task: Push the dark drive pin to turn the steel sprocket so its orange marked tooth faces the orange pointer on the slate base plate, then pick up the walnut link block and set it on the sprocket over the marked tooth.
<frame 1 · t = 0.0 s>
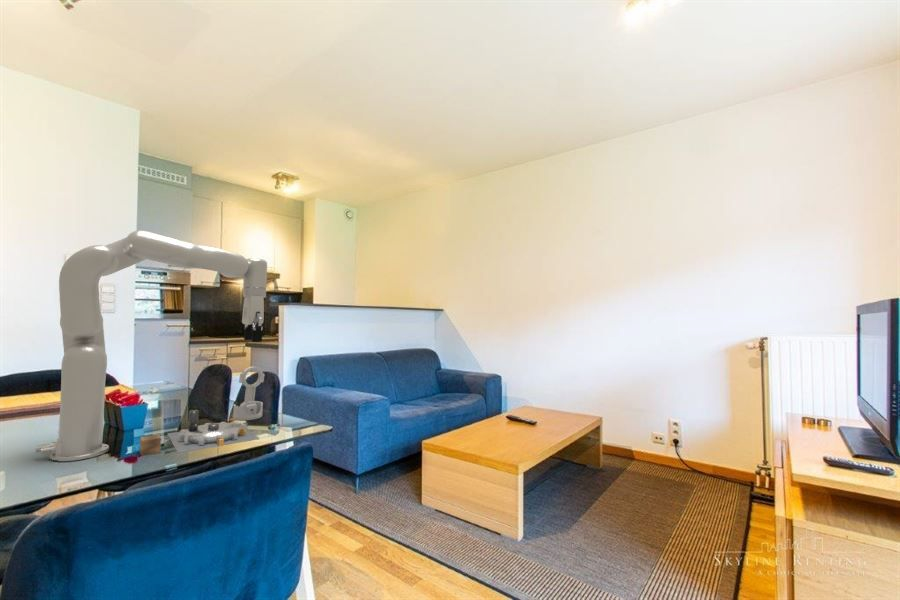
hand: (252, 340, 149), 31 cm above the table, tool pointing down, fingers open, 9 cm apart
sprocket: (213, 423, 134), point 6 cm above the table, hinge at 0.0°
engine component: (248, 421, 159), on the table
link block: (149, 457, 118), on the table
base plate: (212, 440, 134), on the table
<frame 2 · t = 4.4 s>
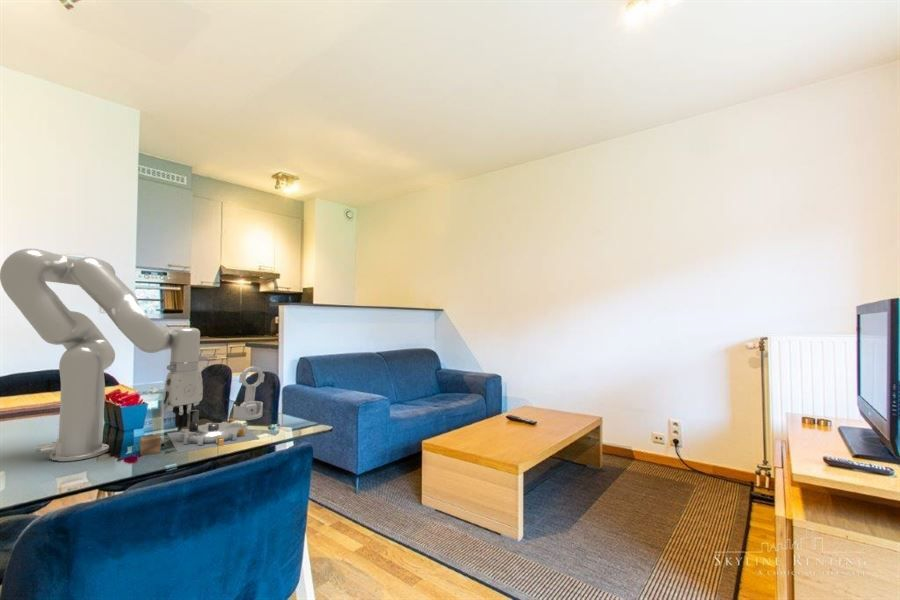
hand: (181, 426, 129), 6 cm above the table, tool pointing down, fingers closed
sprocket: (213, 423, 134), point 6 cm above the table, hinge at 2.2°, touching gripper
everything else where it was.
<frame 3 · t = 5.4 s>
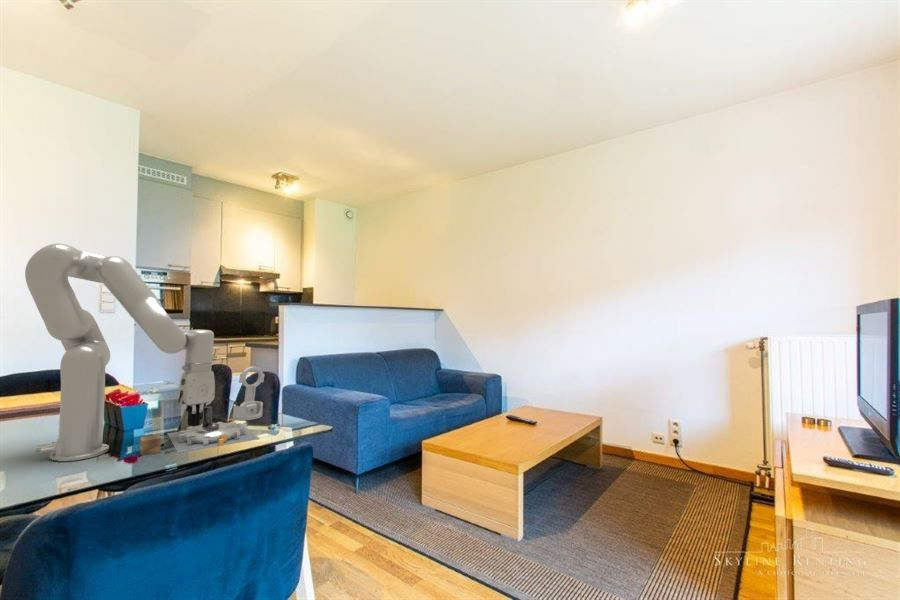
hand: (193, 425, 134), 5 cm above the table, tool pointing down, fingers closed
sprocket: (213, 423, 134), point 6 cm above the table, hinge at 53.0°, touching gripper
everything else where it was.
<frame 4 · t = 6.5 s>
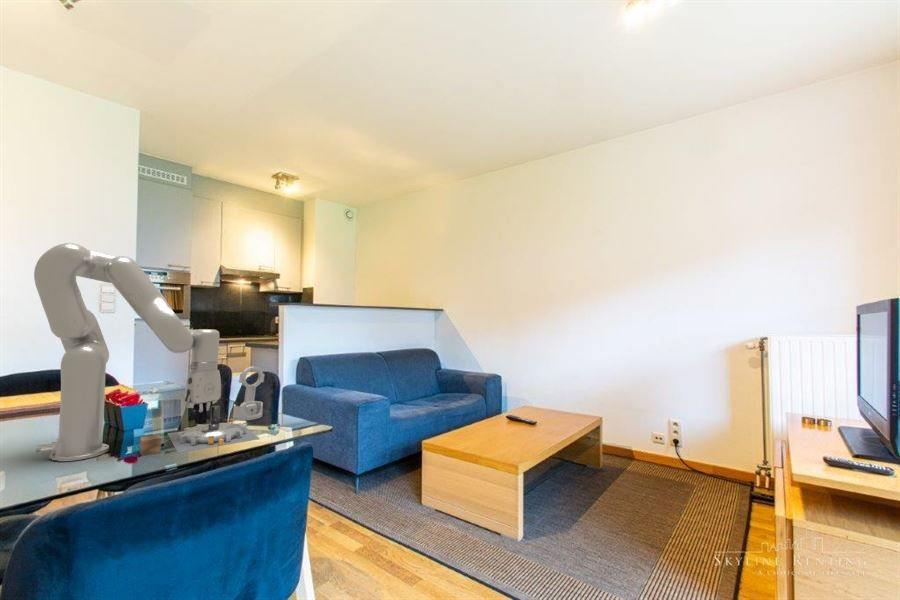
hand: (200, 423, 136), 5 cm above the table, tool pointing down, fingers closed
sprocket: (213, 423, 134), point 6 cm above the table, hinge at 74.9°, touching gripper
everything else where it was.
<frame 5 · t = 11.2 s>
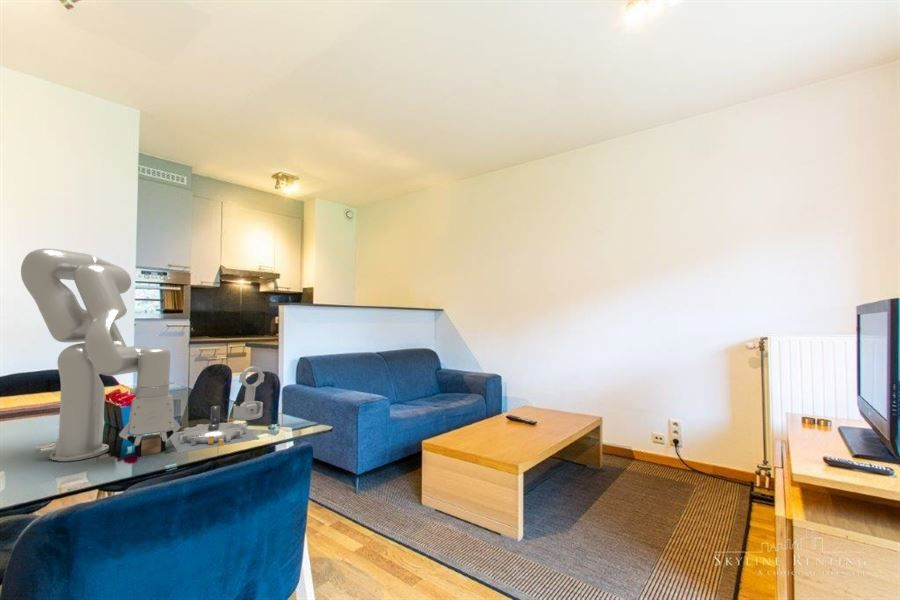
hand: (149, 455, 118), 0 cm above the table, tool pointing down, fingers closed on link block, 4 cm apart
sprocket: (213, 423, 134), point 6 cm above the table, hinge at 75.0°
link block: (149, 457, 118), on the table, touching gripper
everything else where it was.
when the fingers open (6 cm above the table, at t = 16.2 s): link block drops 1 cm, resting on sprocket.
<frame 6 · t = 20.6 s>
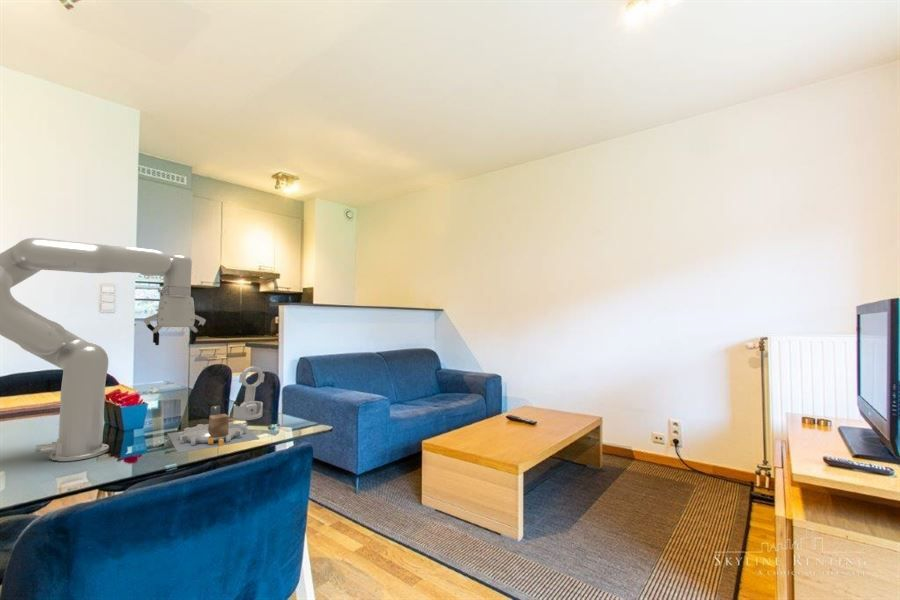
hand: (174, 344, 137), 30 cm above the table, tool pointing down, fingers open, 9 cm apart
sprocket: (213, 423, 134), point 6 cm above the table, hinge at 75.0°, touching link block
link block: (218, 434, 128), point 4 cm above the table, touching sprocket
everything else where it was.
at the end: sprocket at +75° (first picture: +0°); link block 0.1 cm from the target spot, point 3.7 cm above the table; link block tilted 0° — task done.
